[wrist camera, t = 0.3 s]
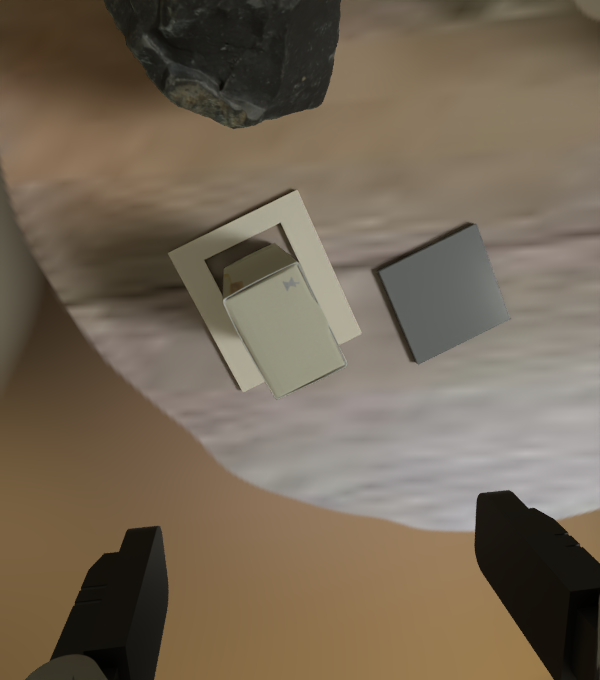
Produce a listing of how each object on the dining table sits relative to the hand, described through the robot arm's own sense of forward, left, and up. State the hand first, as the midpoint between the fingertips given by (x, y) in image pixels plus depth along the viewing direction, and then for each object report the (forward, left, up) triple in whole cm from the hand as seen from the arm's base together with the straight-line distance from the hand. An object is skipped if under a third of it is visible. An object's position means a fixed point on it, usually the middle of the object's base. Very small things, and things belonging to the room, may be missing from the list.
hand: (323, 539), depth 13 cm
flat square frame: (-1, -2, -26) cm, 26 cm away
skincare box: (-1, -2, -26) cm, 26 cm away
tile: (-13, +4, -26) cm, 29 cm away
